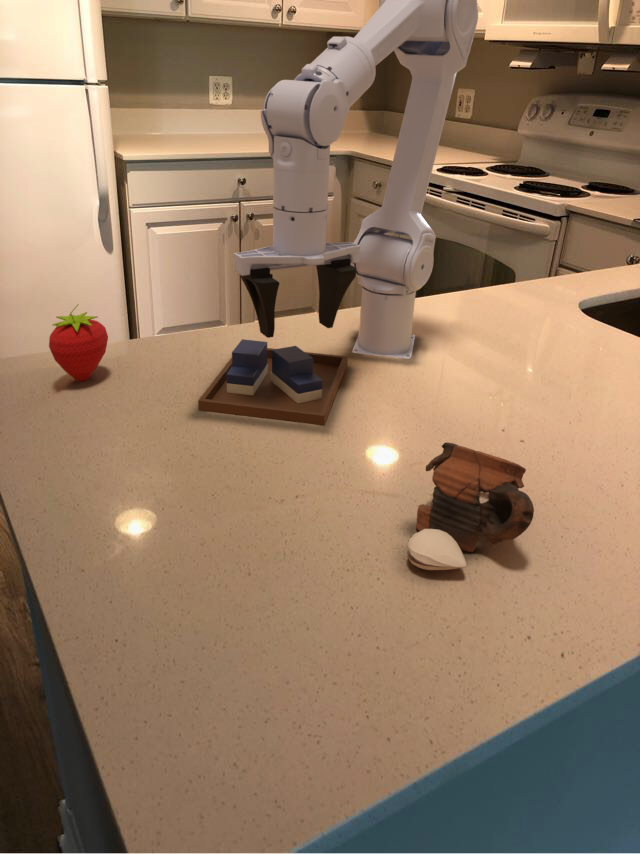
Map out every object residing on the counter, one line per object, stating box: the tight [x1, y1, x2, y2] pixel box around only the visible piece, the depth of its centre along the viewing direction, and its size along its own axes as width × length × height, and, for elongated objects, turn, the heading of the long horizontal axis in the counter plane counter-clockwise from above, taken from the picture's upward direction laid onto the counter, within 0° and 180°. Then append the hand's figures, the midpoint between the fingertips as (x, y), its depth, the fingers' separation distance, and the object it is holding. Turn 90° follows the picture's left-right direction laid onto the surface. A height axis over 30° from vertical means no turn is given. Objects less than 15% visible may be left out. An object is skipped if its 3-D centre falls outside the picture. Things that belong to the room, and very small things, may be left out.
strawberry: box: [48, 303, 109, 382], centre depth 83 cm, size 6×8×10 cm
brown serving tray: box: [197, 347, 349, 426], centre depth 85 cm, size 17×14×2 cm
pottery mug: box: [415, 442, 535, 553], centre depth 61 cm, size 12×10×8 cm
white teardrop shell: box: [406, 529, 468, 571], centre depth 57 cm, size 4×5×2 cm
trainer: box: [271, 345, 322, 403], centre depth 83 cm, size 7×3×4 cm, turn 30°
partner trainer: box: [227, 338, 268, 396], centre depth 85 cm, size 7×3×4 cm, turn 170°
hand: (297, 329), depth 81 cm, fingers open, 7 cm apart
